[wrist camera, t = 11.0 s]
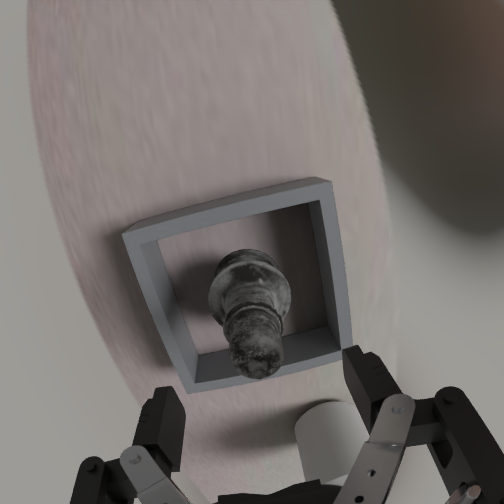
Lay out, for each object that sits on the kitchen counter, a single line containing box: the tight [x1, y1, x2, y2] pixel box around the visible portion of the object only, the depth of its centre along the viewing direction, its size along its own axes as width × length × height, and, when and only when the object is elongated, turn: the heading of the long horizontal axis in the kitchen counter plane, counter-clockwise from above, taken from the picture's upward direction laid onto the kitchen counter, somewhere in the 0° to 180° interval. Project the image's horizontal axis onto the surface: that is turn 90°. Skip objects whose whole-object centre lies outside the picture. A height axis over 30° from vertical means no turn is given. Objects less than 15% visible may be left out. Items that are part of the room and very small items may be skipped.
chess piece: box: [208, 249, 291, 380], centre depth 19 cm, size 6×6×12 cm
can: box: [294, 401, 369, 486], centre depth 25 cm, size 8×8×12 cm
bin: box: [122, 177, 353, 394], centre depth 23 cm, size 14×14×4 cm
